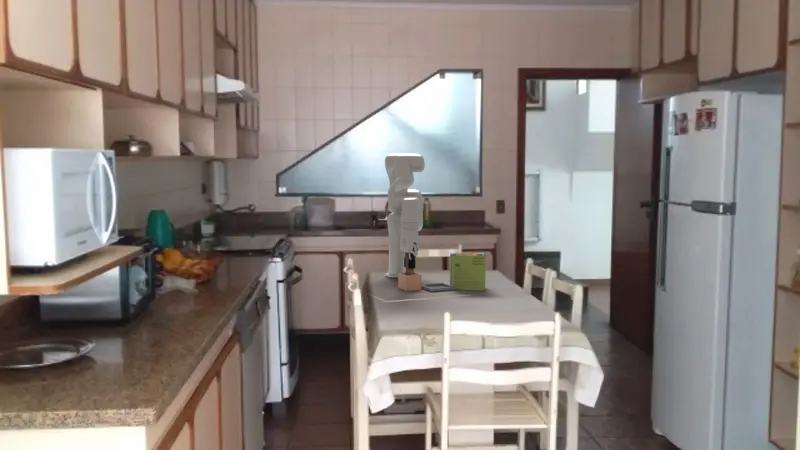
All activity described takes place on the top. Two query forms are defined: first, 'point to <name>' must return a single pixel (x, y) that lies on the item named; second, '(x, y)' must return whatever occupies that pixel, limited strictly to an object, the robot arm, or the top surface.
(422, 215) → the robot arm
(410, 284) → the holder
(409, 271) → the dowel
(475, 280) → the protein box
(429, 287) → the tray
